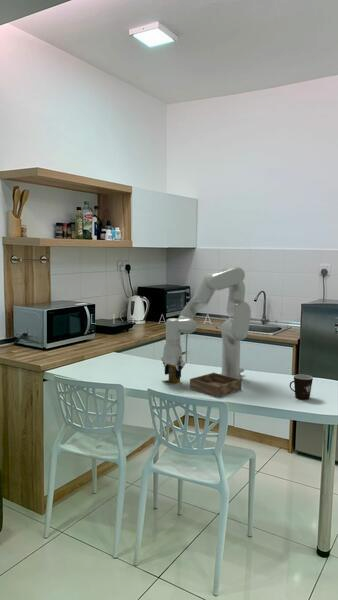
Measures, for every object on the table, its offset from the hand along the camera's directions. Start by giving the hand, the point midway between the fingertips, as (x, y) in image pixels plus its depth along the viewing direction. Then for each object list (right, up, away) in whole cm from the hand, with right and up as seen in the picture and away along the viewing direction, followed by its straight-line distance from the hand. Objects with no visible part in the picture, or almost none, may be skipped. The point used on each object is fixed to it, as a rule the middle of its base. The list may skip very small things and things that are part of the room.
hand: (172, 375), depth 237 cm
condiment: (0, -4, 0) cm, 4 cm away
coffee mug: (+59, -7, -23) cm, 64 cm away
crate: (+21, -5, -11) cm, 24 cm away
